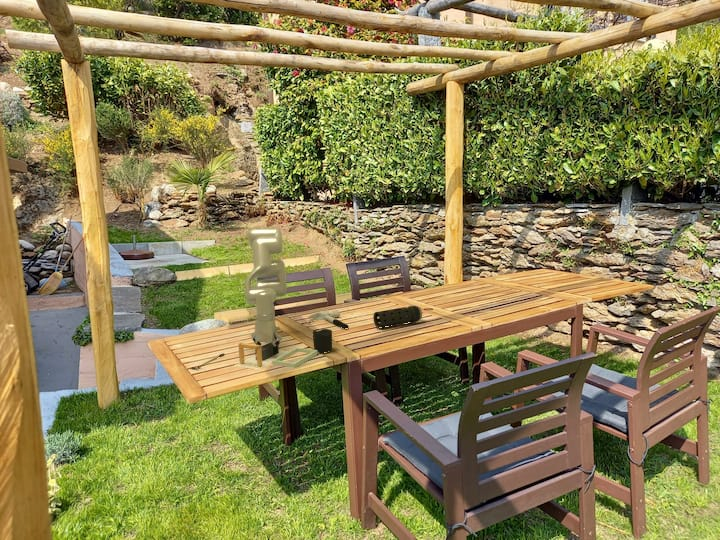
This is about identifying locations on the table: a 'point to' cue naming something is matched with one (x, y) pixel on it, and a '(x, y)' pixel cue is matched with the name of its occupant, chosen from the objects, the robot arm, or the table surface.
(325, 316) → the claw hammer
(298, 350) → the tray
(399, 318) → the muzzle brake
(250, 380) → the table surface
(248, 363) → the board
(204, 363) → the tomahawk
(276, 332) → the robot arm
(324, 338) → the pen holder
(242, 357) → the orange pull handle
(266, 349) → the dark grey block
